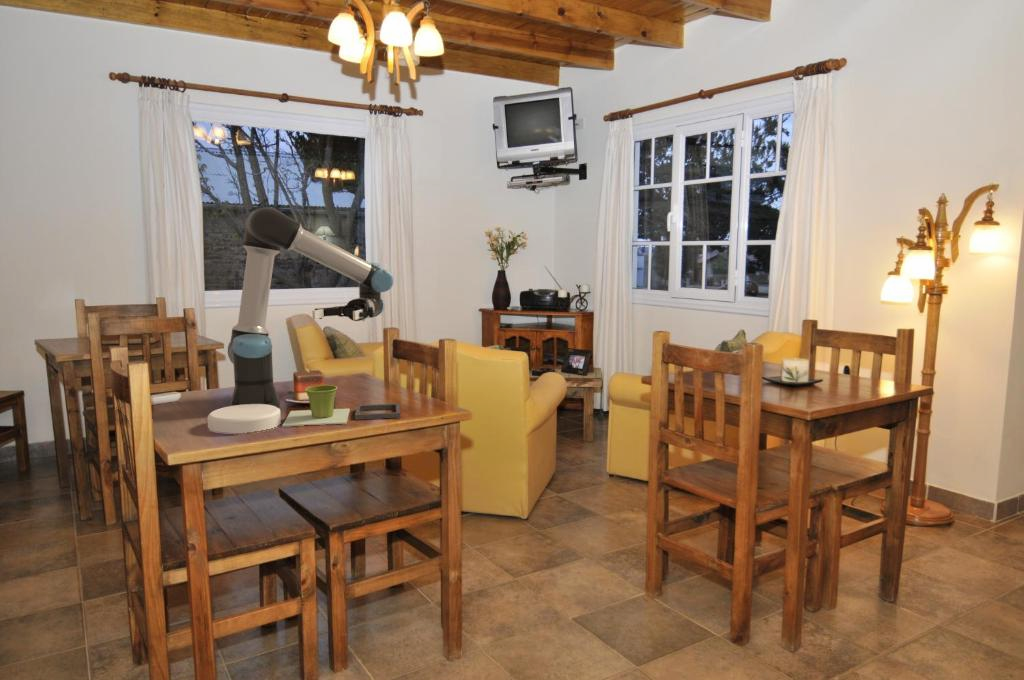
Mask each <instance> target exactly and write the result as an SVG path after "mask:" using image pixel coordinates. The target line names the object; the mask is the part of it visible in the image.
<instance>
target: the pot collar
mask: <svg viewBox="0 0 1024 680" xmlns="http://www.w3.org/2000/svg"><path fill="white" fill-rule="evenodd" d="M375 409H387V410H395V412H378V413H377V412H375V413H373V412H372V413H361V412H362V411H361V410H363V411H376V410H375ZM378 418H390V419H401V405H400V403H382V404H380V403H379V404H357V405H356V408H355V414H354V420H355V421H359V420H358V419H367V420H379V419H378Z"/></svg>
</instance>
